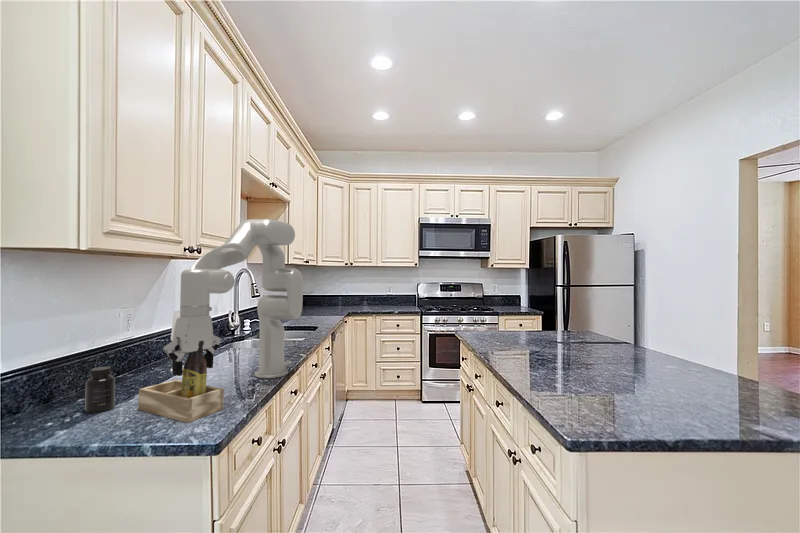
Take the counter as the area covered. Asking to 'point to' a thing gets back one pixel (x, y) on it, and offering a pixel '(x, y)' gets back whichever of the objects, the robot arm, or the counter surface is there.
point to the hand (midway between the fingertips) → (193, 371)
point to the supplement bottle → (100, 390)
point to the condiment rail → (179, 401)
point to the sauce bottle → (194, 374)
